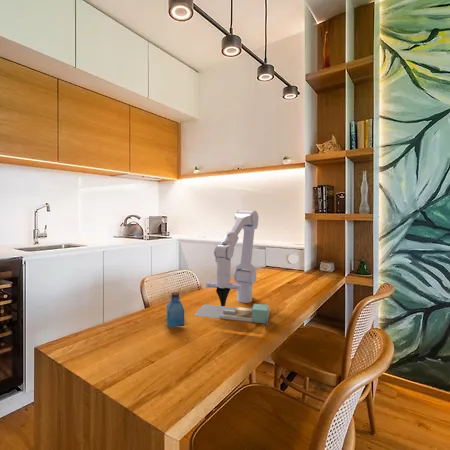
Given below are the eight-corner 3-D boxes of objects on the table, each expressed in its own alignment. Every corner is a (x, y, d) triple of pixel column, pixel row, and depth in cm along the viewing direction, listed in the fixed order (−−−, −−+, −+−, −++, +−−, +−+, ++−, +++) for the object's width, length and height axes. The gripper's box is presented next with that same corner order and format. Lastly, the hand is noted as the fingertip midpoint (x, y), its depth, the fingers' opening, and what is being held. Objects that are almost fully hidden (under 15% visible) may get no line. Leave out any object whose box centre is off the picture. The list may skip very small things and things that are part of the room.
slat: (235, 318, 116) (235, 309, 116) (236, 315, 119) (236, 307, 119) (264, 321, 114) (265, 312, 113) (265, 318, 116) (265, 309, 116)
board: (203, 306, 132) (203, 293, 132) (269, 313, 125) (270, 299, 125) (193, 317, 118) (193, 303, 118) (266, 326, 111) (267, 310, 111)
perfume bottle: (167, 327, 109) (167, 296, 108) (166, 321, 115) (166, 291, 114) (184, 325, 111) (184, 295, 110) (182, 319, 116) (182, 290, 116)
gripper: (203, 274, 117) (203, 307, 118) (239, 277, 114) (238, 310, 115) (208, 270, 124) (208, 301, 125) (242, 272, 121) (241, 304, 122)
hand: (223, 305), depth 120 cm, fingers closed
